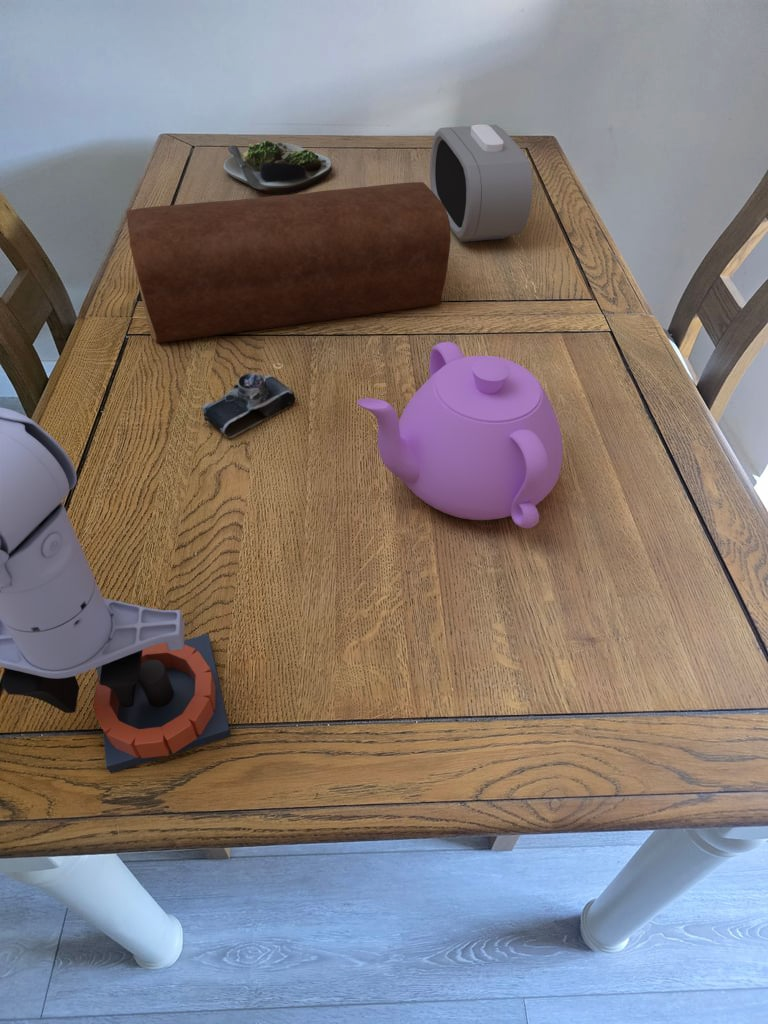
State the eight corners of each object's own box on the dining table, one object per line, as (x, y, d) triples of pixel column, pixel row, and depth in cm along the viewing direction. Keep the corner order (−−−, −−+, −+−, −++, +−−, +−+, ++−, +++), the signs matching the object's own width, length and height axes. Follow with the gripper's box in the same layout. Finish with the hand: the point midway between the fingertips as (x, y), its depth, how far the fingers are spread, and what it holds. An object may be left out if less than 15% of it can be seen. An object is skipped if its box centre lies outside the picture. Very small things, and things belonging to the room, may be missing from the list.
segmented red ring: (95, 764, 52) (86, 750, 50) (109, 661, 57) (101, 646, 55) (214, 750, 53) (209, 736, 51) (216, 650, 58) (212, 635, 56)
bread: (446, 310, 96) (457, 213, 86) (153, 351, 88) (128, 248, 78) (410, 255, 106) (417, 162, 96) (144, 287, 97) (120, 189, 87)
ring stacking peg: (110, 773, 52) (92, 744, 49) (100, 670, 58) (83, 638, 54) (231, 736, 55) (222, 706, 51) (210, 641, 60) (201, 607, 56)
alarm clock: (426, 197, 120) (433, 110, 110) (479, 193, 121) (490, 107, 111) (463, 257, 106) (474, 164, 96) (522, 251, 108) (539, 160, 98)
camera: (197, 420, 79) (191, 390, 76) (272, 383, 84) (269, 353, 81) (223, 443, 77) (218, 413, 74) (298, 404, 82) (296, 374, 79)
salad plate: (195, 169, 124) (190, 141, 120) (271, 142, 133) (269, 116, 130) (269, 205, 116) (266, 176, 112) (345, 174, 125) (345, 146, 121)
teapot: (319, 441, 78) (313, 333, 67) (490, 395, 84) (509, 290, 74) (405, 592, 64) (414, 486, 54) (600, 523, 71) (642, 416, 61)
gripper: (172, 533, 47) (201, 642, 57) (-63, 550, 45) (10, 660, 55) (164, 624, 42) (198, 725, 52) (-98, 646, 40) (-11, 747, 50)
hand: (101, 697), depth 53 cm, fingers open, 3 cm apart
